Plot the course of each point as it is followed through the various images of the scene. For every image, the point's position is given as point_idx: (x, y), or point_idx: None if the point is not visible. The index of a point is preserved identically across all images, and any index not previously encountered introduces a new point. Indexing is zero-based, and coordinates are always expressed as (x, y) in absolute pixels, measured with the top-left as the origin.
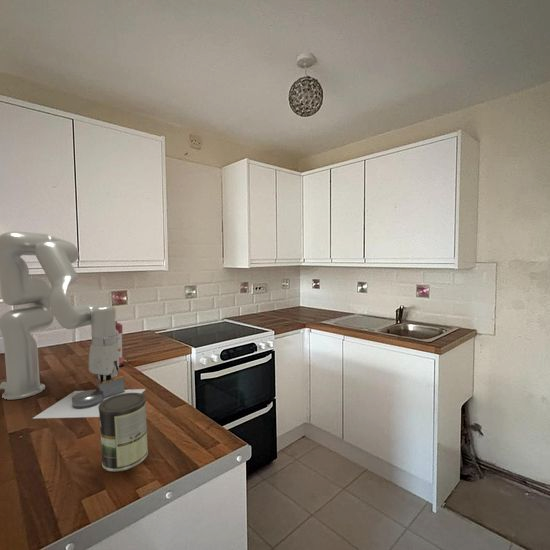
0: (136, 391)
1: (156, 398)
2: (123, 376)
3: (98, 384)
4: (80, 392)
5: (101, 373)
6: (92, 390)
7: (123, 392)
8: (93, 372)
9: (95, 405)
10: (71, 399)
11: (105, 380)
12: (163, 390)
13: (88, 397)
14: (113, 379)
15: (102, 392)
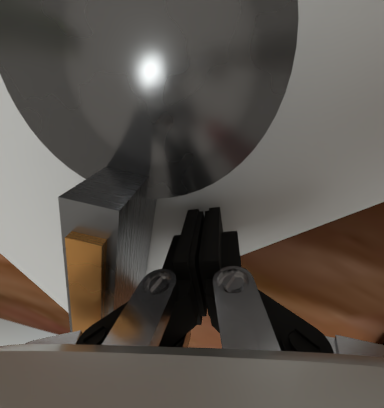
0: None
1: (2, 285)
2: None
3: (108, 200)
4: (289, 52)
5: (49, 369)
6: (212, 157)
7: None
8: (309, 370)
9: None
10: (379, 17)
11: (138, 286)
12: (60, 332)
13: (52, 18)
14: (72, 318)
15: (81, 171)
